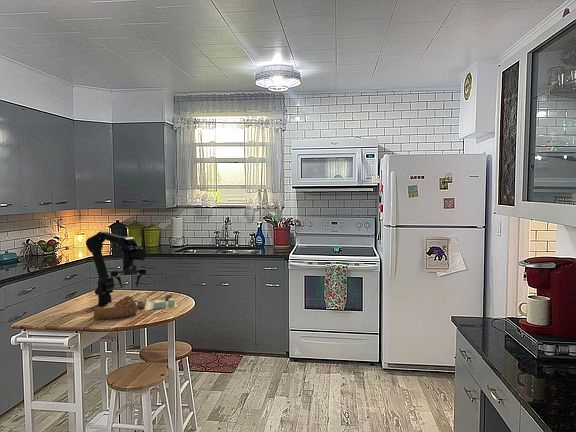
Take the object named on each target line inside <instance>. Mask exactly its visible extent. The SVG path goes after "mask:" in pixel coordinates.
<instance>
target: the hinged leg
mask: <svg viewBox="0 0 576 432" xmlns="http://www.w3.org/2000/svg"><path fill="white" fill-rule="evenodd" d="M147 301H148V300H147V296H140V298H139V300H138V301H136V302H137V307H138V309H143V308H145V304H146V302H147Z"/></svg>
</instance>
